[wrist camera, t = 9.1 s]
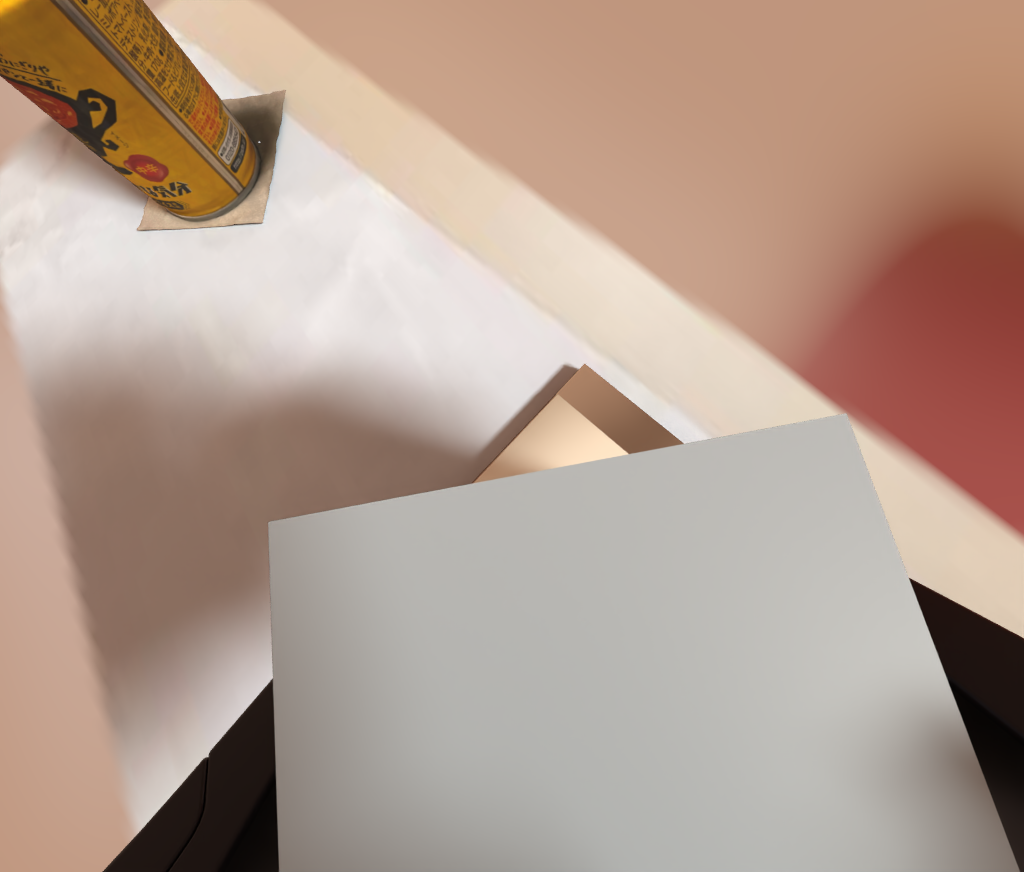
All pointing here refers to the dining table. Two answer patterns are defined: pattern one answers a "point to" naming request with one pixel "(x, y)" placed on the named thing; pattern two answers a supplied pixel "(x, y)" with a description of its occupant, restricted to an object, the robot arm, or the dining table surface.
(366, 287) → the dining table surface
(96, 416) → the dining table surface
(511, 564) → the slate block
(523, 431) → the brown square board
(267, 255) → the dining table surface
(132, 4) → the condiment
